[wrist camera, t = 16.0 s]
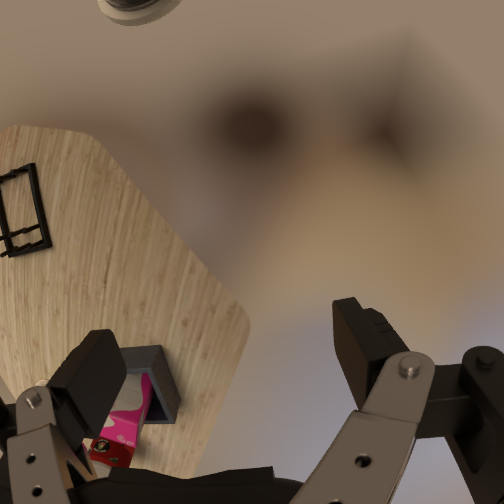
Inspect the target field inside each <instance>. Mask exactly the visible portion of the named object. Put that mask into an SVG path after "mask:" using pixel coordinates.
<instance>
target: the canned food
mask: <svg viewBox="0 0 504 504" xmlns="http://www.w3.org/2000/svg"><path fill="white" fill-rule="evenodd" d="M134 450H135V447H131V446H128V445H125V444H122V443H119V442H116V441H113V440H110V439H107V438H105V437H102V436H99V438H98V439H93V441H92V443H91V445H90V448H89V450H88V454H89V456H90V459H91V461H92V464H93V466H94V469H95V471H96V474H97V476H98V478H103V477H108V476H109V473H110V470H111V467H112V466H116V467H125V468H129V466H130V463H131V460H132V457H133V454H134Z"/></svg>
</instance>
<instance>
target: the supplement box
mask: <svg viewBox="0 0 504 504" xmlns="http://www.w3.org/2000/svg"><path fill="white" fill-rule="evenodd" d="M153 394H154V387H153V385H152V383H151V380H150V378H149V375H148V373H132V374H127V376H126V379H125V381H124V384H123V386H122V388H121V390H120V392H119V394H118V396H117V398H116V400H115V403H114V405H113V407H112V409H111V411H110V413H109V416H108V418H107V420H106V422H105V424H104V427H103V429H102V431H101V433H100V435H99V436H102V437H105V438H107V439H110V440H113V441H116V442H119V443H122V444H125V445H128V446H131V447H135V448H136V446H137V443H138V440H139V437H140V433H141V430H142V427H143V424H144V421H145V418H146V415H147V412H148V409H149V406H150V403H151V400H152V397H153Z"/></svg>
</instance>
